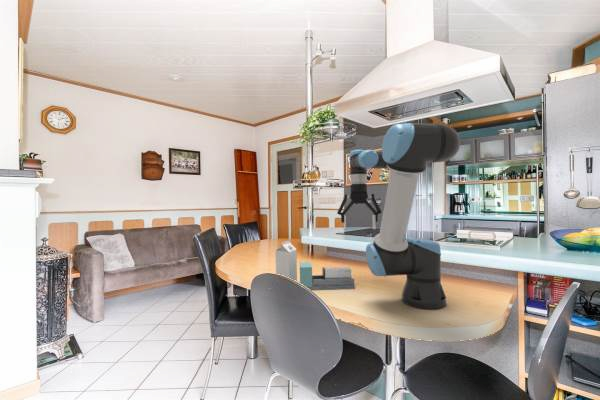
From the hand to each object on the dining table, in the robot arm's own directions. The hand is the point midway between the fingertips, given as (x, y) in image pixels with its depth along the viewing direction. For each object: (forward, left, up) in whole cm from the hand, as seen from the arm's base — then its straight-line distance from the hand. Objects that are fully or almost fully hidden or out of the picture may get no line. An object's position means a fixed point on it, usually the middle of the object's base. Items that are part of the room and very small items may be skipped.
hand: (359, 229), depth 139 cm
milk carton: (-2, +34, -24) cm, 42 cm away
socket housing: (-9, +26, -22) cm, 35 cm away
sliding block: (-9, +12, -22) cm, 27 cm away
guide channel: (-9, +17, -24) cm, 30 cm away
